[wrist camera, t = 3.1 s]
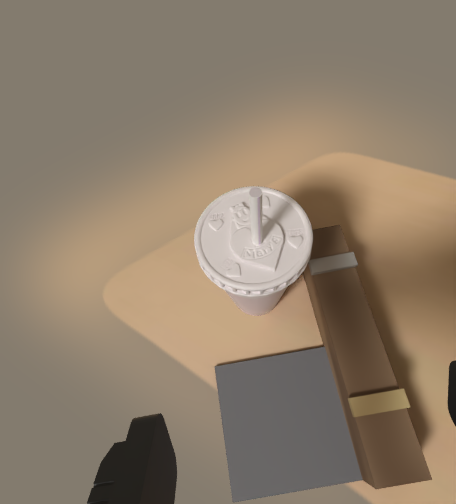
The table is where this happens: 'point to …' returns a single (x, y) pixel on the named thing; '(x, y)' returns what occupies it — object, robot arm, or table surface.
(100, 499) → the robot arm
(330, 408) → the end pad
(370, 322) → the guide rail
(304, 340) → the table surface
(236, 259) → the smoothie
